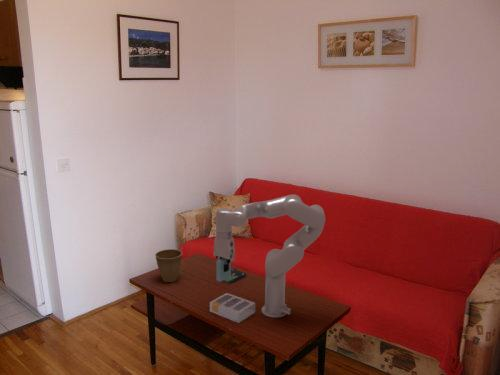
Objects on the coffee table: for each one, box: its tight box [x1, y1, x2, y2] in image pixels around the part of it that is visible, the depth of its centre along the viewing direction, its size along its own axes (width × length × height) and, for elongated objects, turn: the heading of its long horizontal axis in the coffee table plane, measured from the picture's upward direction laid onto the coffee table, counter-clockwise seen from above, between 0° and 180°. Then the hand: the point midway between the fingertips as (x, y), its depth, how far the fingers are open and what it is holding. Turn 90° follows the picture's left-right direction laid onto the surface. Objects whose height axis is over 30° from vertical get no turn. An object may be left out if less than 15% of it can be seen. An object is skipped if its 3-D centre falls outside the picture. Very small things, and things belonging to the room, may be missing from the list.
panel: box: [215, 258, 232, 282], centre depth 210 cm, size 2×8×10 cm, turn 143°
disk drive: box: [221, 268, 247, 285], centre depth 250 cm, size 10×3×15 cm
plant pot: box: [154, 248, 183, 283], centre depth 245 cm, size 15×15×16 cm
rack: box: [209, 292, 256, 324], centre depth 210 cm, size 18×13×5 cm
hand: (223, 270), depth 210 cm, fingers closed on panel, 2 cm apart
